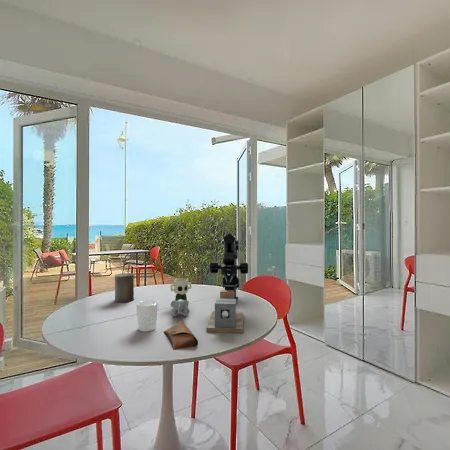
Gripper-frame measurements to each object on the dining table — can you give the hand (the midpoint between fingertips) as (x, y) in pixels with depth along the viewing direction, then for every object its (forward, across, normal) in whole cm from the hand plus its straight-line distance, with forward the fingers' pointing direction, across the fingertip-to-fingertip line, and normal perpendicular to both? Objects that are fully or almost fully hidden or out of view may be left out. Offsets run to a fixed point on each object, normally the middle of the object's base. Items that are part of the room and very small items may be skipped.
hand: (228, 282), depth 132 cm
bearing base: (+20, 0, -1) cm, 20 cm away
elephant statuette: (+16, -21, +4) cm, 26 cm away
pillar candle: (-1, -57, +20) cm, 60 cm away
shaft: (+20, 0, -4) cm, 21 cm away
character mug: (+5, -24, +15) cm, 29 cm away
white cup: (+27, -31, -7) cm, 41 cm away
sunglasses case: (+33, -16, -13) cm, 39 cm away
